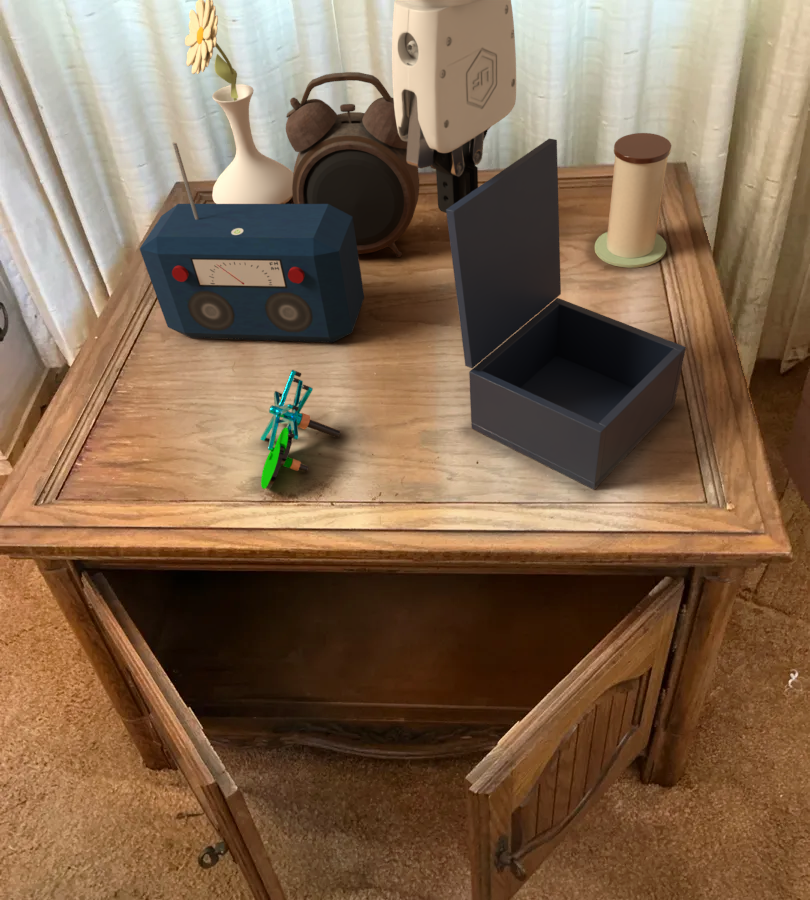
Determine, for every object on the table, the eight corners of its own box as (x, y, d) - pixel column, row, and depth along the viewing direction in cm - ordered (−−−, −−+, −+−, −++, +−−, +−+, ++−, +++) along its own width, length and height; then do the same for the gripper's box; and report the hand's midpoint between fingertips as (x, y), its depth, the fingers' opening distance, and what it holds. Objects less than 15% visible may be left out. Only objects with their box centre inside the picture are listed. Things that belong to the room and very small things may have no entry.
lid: (557, 139, 70) (549, 138, 71) (453, 211, 64) (445, 209, 65) (561, 294, 81) (554, 292, 81) (472, 368, 74) (465, 366, 75)
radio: (167, 345, 93) (101, 167, 78) (192, 298, 99) (136, 124, 84) (351, 351, 90) (319, 166, 75) (367, 302, 95) (341, 121, 80)
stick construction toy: (264, 390, 83) (293, 352, 76) (329, 414, 86) (362, 380, 79) (239, 499, 78) (268, 468, 72) (309, 522, 81) (342, 494, 75)
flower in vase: (217, 186, 116) (161, -23, 98) (299, 175, 116) (259, -36, 98) (213, 235, 108) (150, 17, 89) (301, 223, 108) (258, 2, 89)
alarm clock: (302, 271, 101) (266, 95, 86) (310, 238, 105) (277, 66, 90) (424, 265, 99) (409, 85, 84) (427, 232, 104) (413, 56, 89)
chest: (674, 405, 80) (686, 346, 75) (594, 490, 74) (601, 432, 69) (554, 355, 86) (557, 297, 81) (471, 428, 80) (468, 371, 75)
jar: (656, 232, 99) (670, 132, 90) (656, 259, 95) (672, 158, 86) (605, 231, 100) (614, 132, 91) (603, 258, 96) (613, 158, 87)
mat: (665, 230, 99) (665, 227, 99) (666, 268, 94) (667, 265, 94) (595, 229, 101) (596, 226, 100) (593, 267, 96) (593, 264, 95)
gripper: (419, 9, 54) (436, 264, 68) (554, -60, 61) (544, 186, 75) (336, -9, 58) (368, 237, 72) (472, -72, 64) (477, 164, 78)
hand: (458, 210), depth 73 cm, fingers closed
